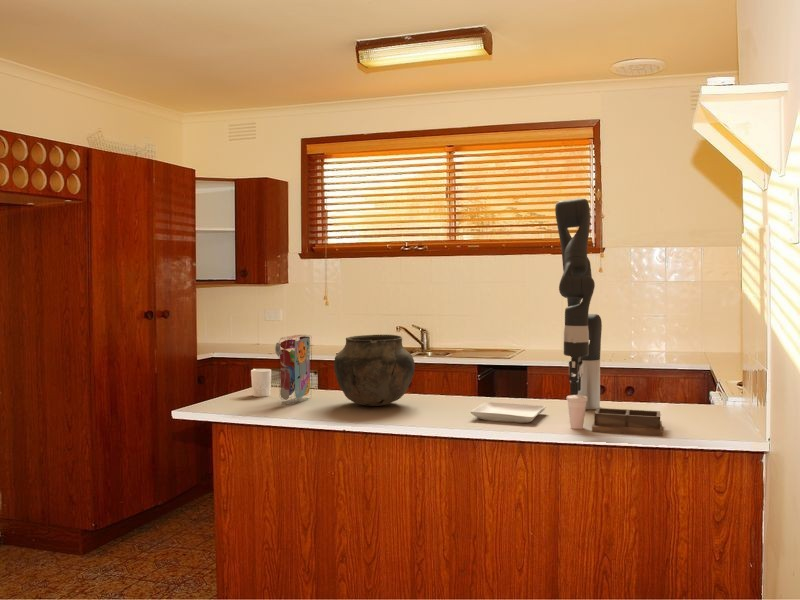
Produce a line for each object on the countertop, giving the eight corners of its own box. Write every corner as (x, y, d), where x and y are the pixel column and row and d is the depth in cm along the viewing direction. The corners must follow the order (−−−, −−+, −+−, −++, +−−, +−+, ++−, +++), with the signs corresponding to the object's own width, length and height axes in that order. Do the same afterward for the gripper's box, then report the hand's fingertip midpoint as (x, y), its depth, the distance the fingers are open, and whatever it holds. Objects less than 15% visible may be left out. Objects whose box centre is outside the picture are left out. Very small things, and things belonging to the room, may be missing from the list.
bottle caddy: (595, 421, 242) (595, 406, 241) (661, 425, 235) (661, 409, 235) (591, 431, 227) (592, 415, 227) (661, 435, 221) (662, 419, 221)
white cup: (250, 394, 297) (249, 369, 297) (270, 393, 299) (269, 368, 299) (252, 397, 290) (252, 371, 289) (272, 396, 292) (272, 370, 291)
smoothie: (584, 425, 236) (584, 381, 235) (590, 429, 229) (590, 384, 229) (563, 425, 236) (564, 381, 235) (569, 430, 229) (569, 384, 229)
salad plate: (546, 414, 256) (546, 404, 256) (533, 426, 236) (533, 415, 236) (486, 410, 264) (486, 400, 264) (468, 421, 244) (468, 411, 244)
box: (283, 409, 264) (283, 340, 263) (267, 408, 266) (267, 340, 265) (312, 398, 288) (311, 334, 287) (297, 397, 290) (297, 334, 289)
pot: (331, 414, 256) (331, 341, 255) (336, 398, 287) (335, 333, 286) (417, 413, 257) (417, 340, 256) (412, 397, 288) (412, 332, 287)
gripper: (566, 338, 239) (565, 388, 240) (560, 341, 226) (560, 395, 226) (590, 338, 237) (590, 390, 237) (586, 342, 223) (585, 396, 224)
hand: (575, 392), depth 232 cm, fingers open, 8 cm apart
